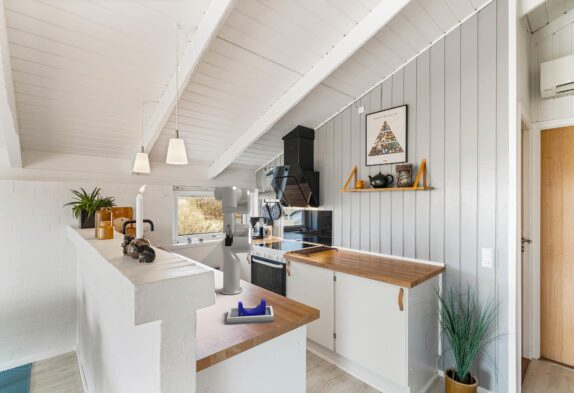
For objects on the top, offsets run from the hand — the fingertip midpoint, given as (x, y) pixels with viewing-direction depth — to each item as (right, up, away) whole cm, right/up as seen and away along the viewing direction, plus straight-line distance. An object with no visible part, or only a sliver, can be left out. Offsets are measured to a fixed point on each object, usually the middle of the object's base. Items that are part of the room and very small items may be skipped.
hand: (229, 244), depth 141 cm
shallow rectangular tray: (+13, -30, -14) cm, 36 cm away
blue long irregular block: (+13, -29, -14) cm, 35 cm away
